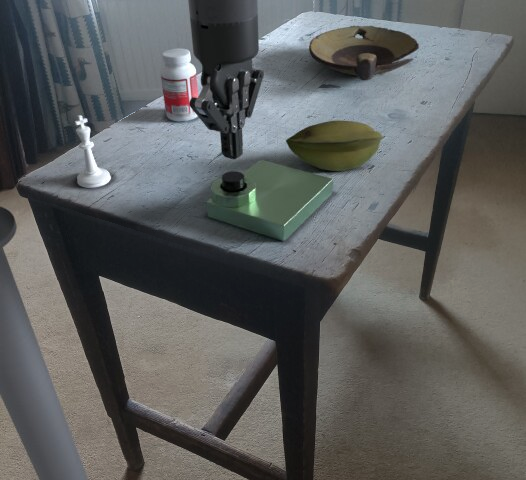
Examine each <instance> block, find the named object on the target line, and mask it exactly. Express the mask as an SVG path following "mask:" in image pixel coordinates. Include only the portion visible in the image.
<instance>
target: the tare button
mask: <svg viewBox="0 0 526 480" xmlns="http://www.w3.org/2000/svg"><path fill="white" fill-rule="evenodd" d="M243 173H244V172H243ZM243 173H242V172H241V171H237V170H230V171H227V172H224V173H223V174H222V175H221V177H222V188H223V190H224V191H226V192H240V191H243V190H244V189H245V180H244V174H243Z"/></svg>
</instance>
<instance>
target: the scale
mask: <svg viewBox="0 0 526 480" xmlns="http://www.w3.org/2000/svg"><path fill="white" fill-rule="evenodd" d="M243 174H244V180H245V189H244V190H243V191H240V192H226V191H224V190H223V188H222V176H221V177H218V178H217V179H215V180H214V181H213V182H212V183H211V187H210V193H211V194H210V195H211V197H210V198H209V199H208V200H207V201H206V210H207V211H206V212H207V217H208V218H211V219H214V220H217V221H221V222H223V223H226V224H229V225H233V226H235V227H238V228H242V229H244V230H248V231H251V232H254V233H256V234H260V235H262V236H266V237H269V238H272V239H274V240H278V241H282V242H285V241H286V240H287V239H288V238H289V237H290V236H291V235H292V234H293V233H294V232H295V231H296V230H297V229H298V228H299V227H300V226H301V225H302V224H303V223H304V222H305V221H306V220H307V219H308V218H309V217H310V216H311V215H313V213H314V212H315V211H316V210H317V209H318V208H320V207H321V205H323V204H324V203H325V201H327V199H328V198H330V197H331V195H332V194H333V190H334V189H333V188H334V178H331V177H328V176H324V175H320V174H316V173H312V172H308V171H305V170H301V169H297V168H294V167H289V166H287V165H282V164H278V163H275V162H271V161H267V160H263V159H260V160H259V161H257V162H256V163H255V164H253V165H252V166H251V167H249V168H248V169H247V170H245V171H244V172H243Z"/></svg>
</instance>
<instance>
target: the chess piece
mask: <svg viewBox="0 0 526 480" xmlns="http://www.w3.org/2000/svg"><path fill="white" fill-rule="evenodd" d="M85 123H88V118H86V117H83V115H82V114H79V115H77V120H75V121H74V125H75V126H78V127H77V128H76V129H75V133H76V134H77V136H78V137H79V140H80V141H81V142H80V143H79V144H78V148H79V149H81V150H83V155H84V163H85V168H84V170H83V171H81V172H79V173H78V174H77V176H76V179H77V181H76V182H77V184H78V185H79V186H80V187H82V188H87V189H92V188H93V189H94V188H99V187H102V186H105V185H107V184H108V183H109V182H110V181H111V179H112V176H111V174H110V172H109V171H108V170H107V169H105V168H102V167H100V166H98V165H97V162H96V160H95V157H94V154H93V151H92V148H94V146H95V144H94V142H93V141H91V140H90V136H91V128H90V126H86V125H85Z"/></svg>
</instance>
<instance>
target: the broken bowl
mask: <svg viewBox="0 0 526 480" xmlns="http://www.w3.org/2000/svg"><path fill="white" fill-rule="evenodd" d="M358 35H359V36H360V38H359V37H356V36H358ZM361 37H362V38H361ZM419 48H420V44H419V43H418V41H417V40H416V38H414V37H412V36H411V35H410V34H407V33H406V32H403V31H400V30H394V29H391V28H390V29H389V28H386V27H381V26H374V25H351V26H347V27H340V28H336V29H335V28H334V29H331V30H328V31H325V32H322V33H320V34H317V35H316V36H315V37H312V39H311V40H310V42H309V46H308V52H309V55H310V57H311V58H312V59H313V60H314V61H316V62H317V63H318V64H320V65H322V66H324V67H326V68H329V69H330V70H334V71H335V72H338V73H342V74H346V75H351V76H357V77H358V78H359V80H360V81H366V82H367V81H370V80H371V79H372V78H373V76H376V75H381V74H385V73H388V72H391V71H394V70H396V69H399V68H401V67H403V66H406V65H407V64H409V63H411V62H412V61H414V58H405V57H407V56H410V55H412V54H413V53H414V52H416V51H418V50H419ZM404 58H405V59H404Z"/></svg>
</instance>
